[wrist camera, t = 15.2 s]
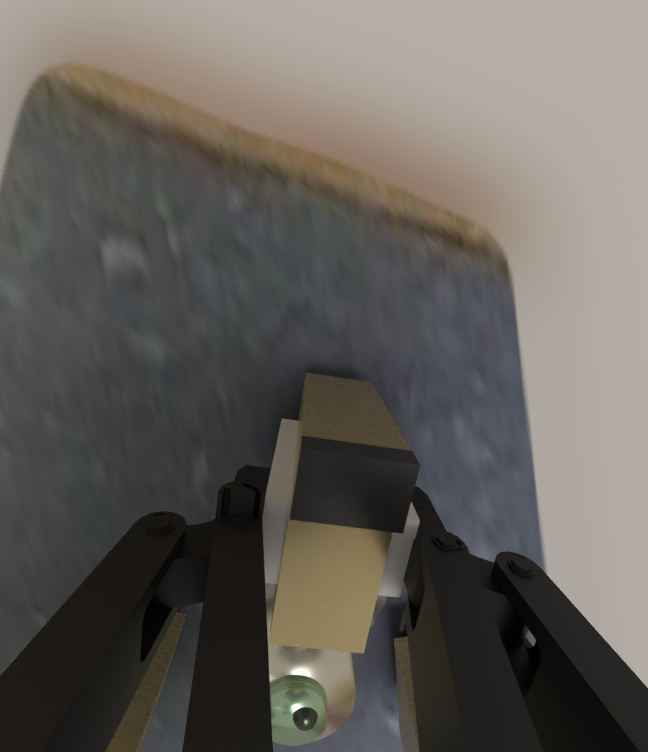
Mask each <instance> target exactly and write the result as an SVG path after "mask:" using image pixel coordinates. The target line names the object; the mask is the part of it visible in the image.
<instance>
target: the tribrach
mask: <svg viewBox="0 0 648 752" xmlns="http://www.w3.org/2000/svg"><path fill="white" fill-rule="evenodd" d="M275 585H276V584H273V583H265V590H266V612H267V634H268V656H269V678H270V700H271V722H272V741H273V742H276V743H278V744H282V745H287V746H299V745H304V744H307V743H310V742H313V741H317V740H319V739H322V738H324V737H327V736H329V735H330V734H332V733H334V732H335V731H337V730H338V729H339V728H340V727H342V726H343V724H344V723H345V722H346V721H347V720H348V718H349V717H350V715H351V713H352V711H353V709H354V706H355V701H356V691H355V681H354V672H353V663H352V653H351V652H343V651H333V650H323V649H312V648H302V647H292V646H282V645H272V644H269V636H270V628H271V619H272V611H273V602H274V594H275ZM386 599H387V596H382V595H378V596H377V600H376V604H375V608H374V612H373V617H372V621H371V625H370V627H371V626H372V625H373V624H374V623H375V621H376V620H377V618H378V617H379V615H380V613H381V611H382V609H383V607H384V605H385V602H386ZM402 637H407V634H404V635H403V636H401V637H400V638H402Z"/></svg>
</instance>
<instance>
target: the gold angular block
mask: <svg viewBox="0 0 648 752" xmlns="http://www.w3.org/2000/svg"><path fill="white" fill-rule="evenodd" d="M186 616H187V614H183V613H179V612H177V613H176V615H175V617H174V619H173V621H172V623H171V625H170V627H169V629H168V631H167V633H166V635H165V637H164V638H163V640H162V642H161V644H160V646H159V648H158V650H157V652H156V654H155V656H154V658H153V660H152V662H151V664H150V666H149V668H148V670H147V672H146V674H145V676H144V677H143V679H142V681H141V683H140V685H139V687H138V689H137V691H136V693H135V695H134V697H133V699H132V701H131V703H130V705H129V707H128V709H127V711H126V713H125V715H124V716H123V718H122V720H121V722H120V724H119V726H118V728H117V730H116V732H115V734H114V736H113V738H112V740H111V742H110V744H109V746H108V748H107V750H106V752H140V750H141V748H142V745H143V742H144V739H145V737H146V734H147V731H148V728H149V726H150V723H151V720H152V717H153V715H154V712H155V709H156V706H157V703H158V700H159V697H160V694H161V691H162V688H163V685H164V682H165V679H166V676H167V673H168V670H169V667H170V664H171V661H172V658H173V655H174V652H175V649H176V646H177V643H178V640H179V637H180V634H181V631H182V628H183V625H184V622H185V619H186Z"/></svg>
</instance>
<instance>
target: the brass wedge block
mask: <svg viewBox="0 0 648 752" xmlns="http://www.w3.org/2000/svg"><path fill="white" fill-rule="evenodd" d="M394 649H395V664H396V680H397V696H398V711H399V727H400V736H401V741H402V746H403V751H404V752H420V751H419V742H418V732H417V723H416V713H415V704H414V694H413V685H412V675H411V666H410V656H409V647H408V637H402V638H394Z"/></svg>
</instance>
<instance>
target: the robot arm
mask: <svg viewBox="0 0 648 752" xmlns="http://www.w3.org/2000/svg"><path fill="white" fill-rule="evenodd" d="M297 432H298V421H297V420H289V419H282V420H281V425H280V430H279V434H278V439H277V444H276V448H275V453H274V458H273V463H272V467H271V468H264V467H256V466H249V465H246V466H244V467H243V468H242V469H240V470H239V471H238V472H237V475H236V477H235V481H233V482H230V483H226V484H225V485H223V486H222V487H221V488H220V490H219V492H218V500H217V510H216V519H214V520H212V521H210V522H207V523H204V524H198V525H188V526H186V522H185V519H184V518H183V517H182V516H180V515H179V514H176V513H173V512H164V511H161V512H155V513H151V514H148V515H146V516H143V517H142V518H140V519H139V520H138V521H137V522H135V524H134V525H133V526H132V527H131V528H130V529H129V530H128V532H127V533H126V534H125V535H124V536H123V537H122V538H121V540H120V541H119V542H118V543H117V544H116V545H115V546H114V547H113V549H112V550H111V551H110V552H109V553H108V554H107V555H106V557H105V558H104V559H103V560H102V561H101V562H100V563H99V565H98V566H97V567H96V568H95V569H94V570H93V571H92V572H91V574H90V575H89V576H88V577H87V578H86V579H85V580H84V582H83V583H82V584H81V585H80V586H79V587H78V588H77V590H76V591H75V592H74V593H73V594H72V595H71V596H70V597H69V599H68V600H67V601H66V602H65V603H64V604H63V605H62V607H61V608H60V609H59V610H58V611H57V612H56V613H55V615H54V616H53V617H52V618H51V619H50V620H49V621H48V622H47V624H46V625H45V626H44V627H43V628H42V629H41V630H40V632H39V633H38V634H37V635H36V636H35V637H34V638H33V640H32V641H31V642H30V643H29V644H28V645H27V646H26V647H25V649H24V650H23V651H22V652H21V653H20V654H19V655H18V657H17V658H16V659H15V660H14V661H13V662H12V663H11V664H10V666H9V667H8V668H7V669H6V670H5V671H4V672H3V674H2V675H1V676H0V752H106V750H107V748H108V746H109V744H110V742H111V740H112V738H113V736H114V734H115V732H116V730H117V728H118V726H119V724H120V722H121V720H122V718H123V716H124V715H125V713H126V711H127V709H128V707H129V705H130V703H131V701H132V699H133V697H134V695H135V693H136V691H137V689H138V687H139V685H140V683H141V681H142V679H143V677H144V676H145V674H146V672H147V670H148V668H149V666H150V664H151V662H152V660H153V658H154V656H155V654H156V652H157V650H158V648H159V646H160V644H161V642H162V640H163V638H164V637H165V635H166V633H167V631H168V629H169V627H170V625H171V623H172V621H173V619H174V617H175V615H176V613H177V611H178V608H179V606H183V605H189V604H194V603H200V602H204V603H203V610H202V618H201V625H200V632H199V639H198V646H197V653H196V660H195V667H194V674H193V681H192V688H191V695H190V702H189V709H188V716H187V723H186V730H185V737H184V745H183V752H273V745H272V722H271V700H270V678H269V656H268V634H267V612H266V590H265V583H273V584H278V581H279V575H280V569H281V562H282V556H283V550H284V544H285V537H286V531H287V525H288V519H289V512H290V506H291V496H292V486H293V475H294V464H295V453H296V442H297ZM431 504H432V503H431V501H430V499H429V498H428V496H427V494H425V493H424V492H423V491H422V490H421V489H420V488H419V487H415V488H414V492H413V496H412V500H411V504H410V508H409V512H408V516H407V520H406V524H405V528H404V533H403V534H402V533H394V532H393V533H392V537H391V541H390V545H389V549H388V554H387V558H386V562H385V566H384V570H383V575H382V579H381V583H380V587H379V591H378V595H382V596H391V597H401V593H402V589H403V585H404V582H405V585H406V589H407V592H408V596H407V599H406V603H405V607H404V611H403V615H402V619H401V622H400V628H399V630H401V631H403V629H404V625H405V624H406V628H407V637H408V647H409V656H410V666H411V675H412V685H413V694H414V704H415V713H416V723H417V732H418V742H419V751H420V752H648V688H647V687H646V686H645V685H644V684H643V682H642V681H641V680H640V679H639V678H638V677H637V676H636V675H635V673H634V672H633V671H632V670H631V669H630V668H629V667H628V665H627V664H626V663H625V662H624V661H623V660H622V659H621V658H620V657H619V655H618V654H617V653H616V652H615V651H614V650H613V649H612V648H611V646H610V645H609V644H608V643H607V642H606V641H605V640H604V639H603V637H602V636H601V635H600V634H599V633H598V632H597V631H596V630H595V628H594V627H593V626H592V625H591V624H590V623H589V622H588V621H587V619H586V618H585V617H584V616H583V615H582V614H581V613H580V612H579V610H578V609H577V608H576V607H575V606H574V605H573V604H572V603H571V602H570V600H569V599H568V598H567V597H566V596H565V595H564V594H563V593H562V591H561V590H560V589H559V588H558V587H557V586H556V585H555V584H554V582H553V581H552V580H551V579H550V578H549V577H548V576H547V575H546V573H545V572H544V571H543V570H542V569H541V568H540V567H539V566H538V565H537V564H535V563H534V562H533V561H531V560H529V559H528V558H527V557H525V556H523V555H520V554H517V553H513V552H500V553H499V554H498V555H497V556H496V559H495V562H494V563H493V562H490V561H487V560H484V559H481V558H478V557H476V556H473V555H471V554H470V553H469V551H468V548H467V546H466V545H465V543H464V542H463V541H462V540H461V539H460V538H458V537H457V536H455V535H454V534H452V533H450V532H447V531H446V529H445V528H444V526H443V524H442V522H441V520H440V518H439V516H438V514H437V513H436V512H435V509H434V507H433V505H431ZM528 630H530V632H531V633H532V634H533V636H534V637H535V639H536V643H535V645H534V647H533V646H532V645H531V643H530V642H529V641H528V639H527V638H526V636H527V633H528Z"/></svg>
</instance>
